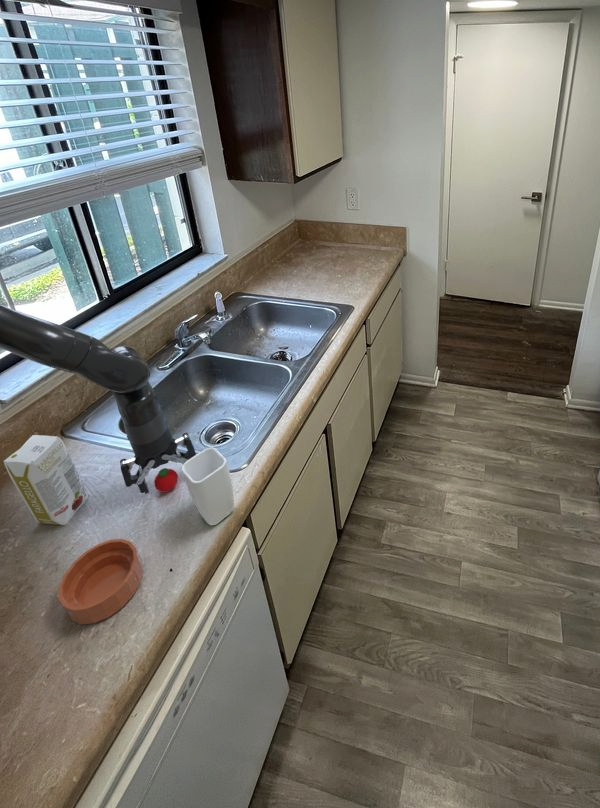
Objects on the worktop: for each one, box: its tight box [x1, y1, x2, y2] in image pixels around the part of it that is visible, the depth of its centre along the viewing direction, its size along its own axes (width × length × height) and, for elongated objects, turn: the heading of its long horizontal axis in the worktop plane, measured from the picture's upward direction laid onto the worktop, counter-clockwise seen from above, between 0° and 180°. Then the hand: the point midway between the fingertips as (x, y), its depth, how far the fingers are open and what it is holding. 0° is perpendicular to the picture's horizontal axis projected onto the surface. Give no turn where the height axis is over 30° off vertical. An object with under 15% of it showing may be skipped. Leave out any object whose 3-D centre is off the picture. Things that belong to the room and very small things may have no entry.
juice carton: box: [3, 434, 89, 526], centre depth 92 cm, size 8×9×19 cm
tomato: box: [153, 467, 179, 493], centre depth 100 cm, size 5×5×5 cm
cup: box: [180, 446, 235, 526], centre depth 92 cm, size 7×7×15 cm
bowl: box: [57, 538, 145, 625], centre depth 81 cm, size 12×12×5 cm
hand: (167, 481), depth 101 cm, fingers open, 8 cm apart
